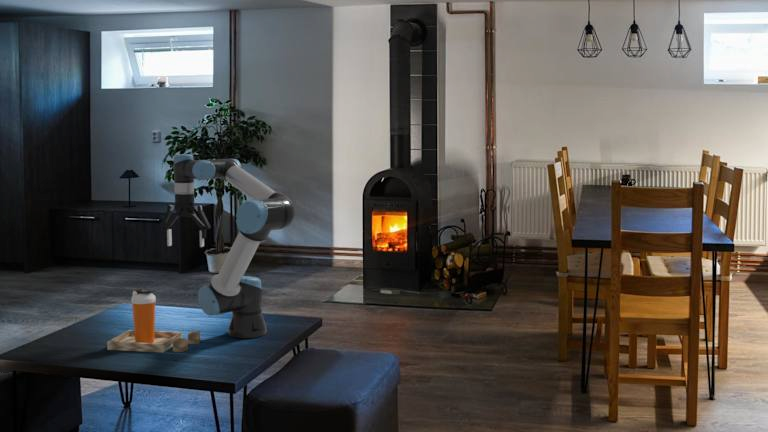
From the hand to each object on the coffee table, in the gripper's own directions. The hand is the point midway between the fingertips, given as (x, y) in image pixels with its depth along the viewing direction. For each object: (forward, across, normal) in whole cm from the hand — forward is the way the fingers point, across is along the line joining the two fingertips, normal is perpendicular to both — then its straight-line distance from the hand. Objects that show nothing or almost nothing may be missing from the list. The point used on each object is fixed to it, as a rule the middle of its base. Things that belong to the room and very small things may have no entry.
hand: (185, 246), depth 338 cm
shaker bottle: (+34, +8, +22) cm, 41 cm away
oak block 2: (+35, -9, +16) cm, 39 cm away
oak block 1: (+35, -8, +27) cm, 45 cm away
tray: (+35, +8, +22) cm, 42 cm away
